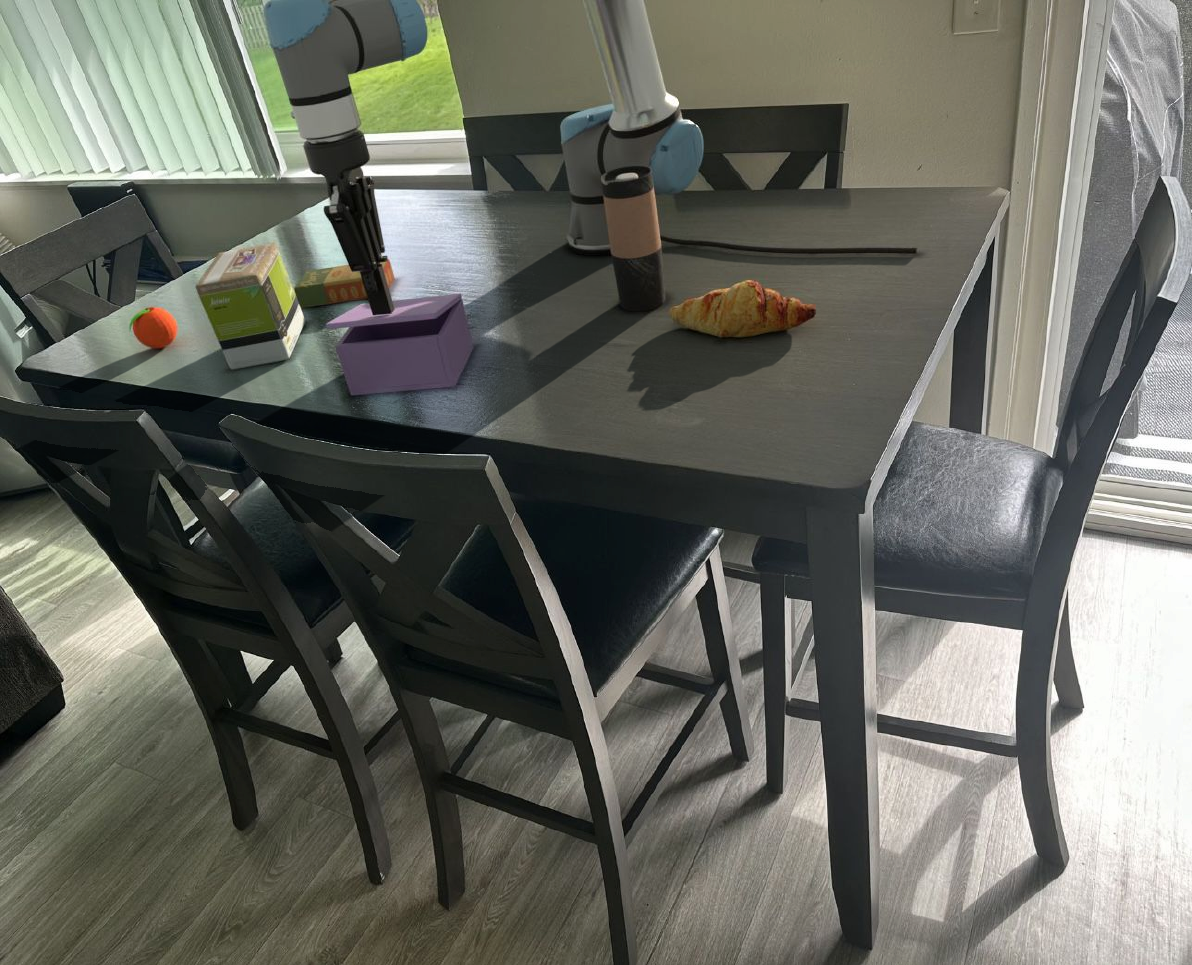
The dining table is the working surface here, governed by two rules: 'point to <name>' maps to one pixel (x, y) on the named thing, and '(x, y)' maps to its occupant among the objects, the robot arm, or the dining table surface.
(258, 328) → the tea box
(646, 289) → the travel mug
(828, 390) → the dining table surface
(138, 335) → the clementine
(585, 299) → the dining table surface
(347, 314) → the lid
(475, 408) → the dining table surface
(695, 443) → the dining table surface
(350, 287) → the carton
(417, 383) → the file box
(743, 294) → the croissant
